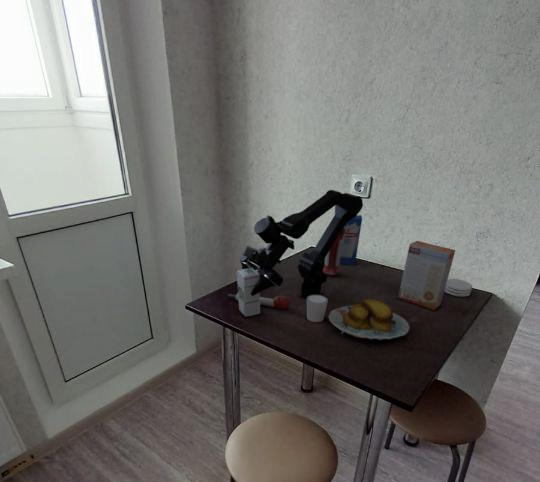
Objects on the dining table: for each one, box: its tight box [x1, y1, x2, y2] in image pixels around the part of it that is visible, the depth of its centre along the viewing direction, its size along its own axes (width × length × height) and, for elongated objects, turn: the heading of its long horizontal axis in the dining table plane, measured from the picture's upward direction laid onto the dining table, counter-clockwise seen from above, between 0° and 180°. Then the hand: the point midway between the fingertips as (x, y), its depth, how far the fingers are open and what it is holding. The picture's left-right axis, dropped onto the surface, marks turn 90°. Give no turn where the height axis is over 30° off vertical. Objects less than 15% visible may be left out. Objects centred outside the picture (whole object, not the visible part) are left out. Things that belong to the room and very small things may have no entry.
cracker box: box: [397, 240, 456, 311], centre depth 142 cm, size 14×6×21 cm, turn 47°
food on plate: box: [327, 298, 411, 341], centre depth 128 cm, size 25×25×7 cm
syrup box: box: [236, 268, 261, 318], centre depth 132 cm, size 6×6×14 cm
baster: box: [228, 292, 291, 310], centre depth 140 cm, size 22×4×4 cm, turn 73°
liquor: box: [323, 205, 345, 277], centre depth 160 cm, size 7×7×28 cm
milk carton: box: [339, 214, 363, 266], centre depth 175 cm, size 10×6×20 cm, turn 81°
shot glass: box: [306, 294, 329, 323], centre depth 132 cm, size 7×7×7 cm
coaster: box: [444, 278, 473, 298], centre depth 155 cm, size 10×10×4 cm
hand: (244, 290), depth 130 cm, fingers open, 8 cm apart
